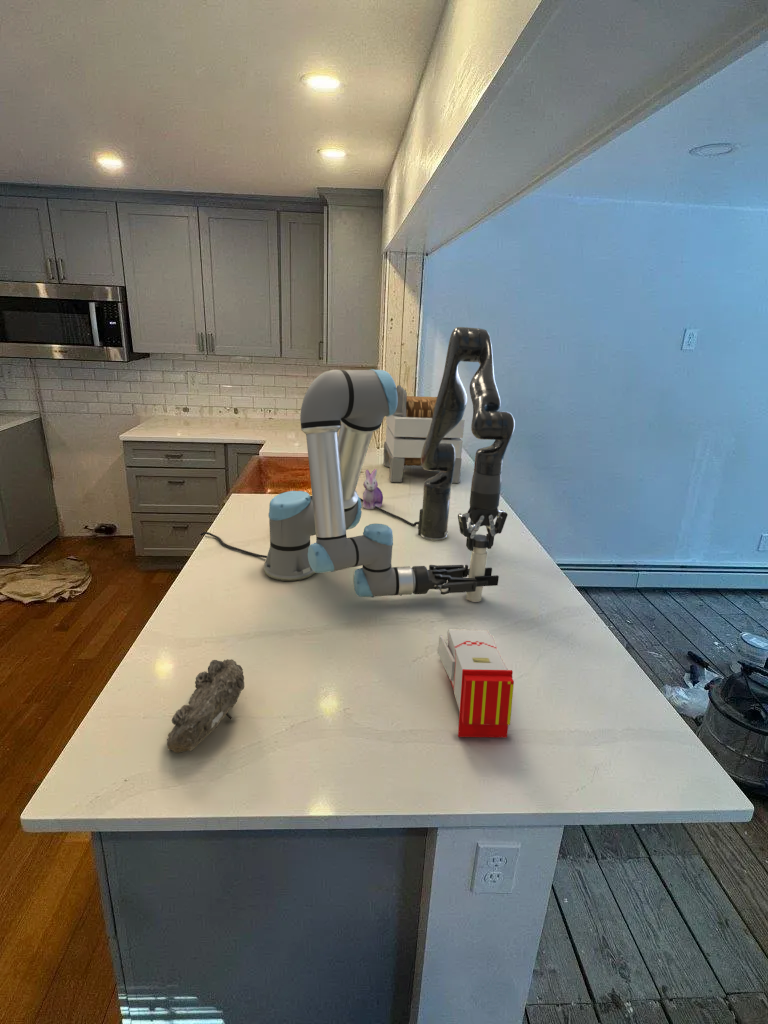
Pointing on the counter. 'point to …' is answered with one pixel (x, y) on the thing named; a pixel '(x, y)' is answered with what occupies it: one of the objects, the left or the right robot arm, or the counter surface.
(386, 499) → the counter surface
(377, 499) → the figurine
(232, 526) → the counter surface
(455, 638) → the toy
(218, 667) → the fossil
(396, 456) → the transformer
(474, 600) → the jar
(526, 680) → the counter surface
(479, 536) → the lid
